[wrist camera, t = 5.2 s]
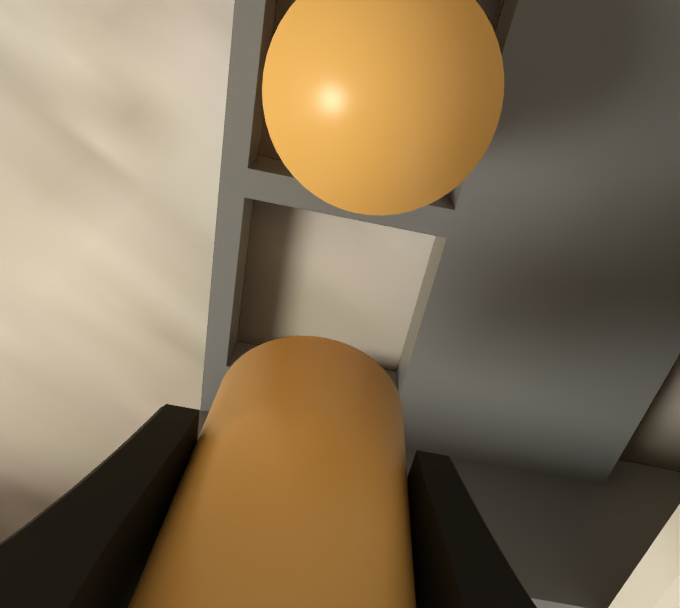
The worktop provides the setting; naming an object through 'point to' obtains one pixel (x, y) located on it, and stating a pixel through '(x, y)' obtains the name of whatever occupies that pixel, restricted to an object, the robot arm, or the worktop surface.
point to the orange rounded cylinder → (382, 99)
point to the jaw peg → (291, 490)
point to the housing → (522, 285)
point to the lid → (655, 573)
